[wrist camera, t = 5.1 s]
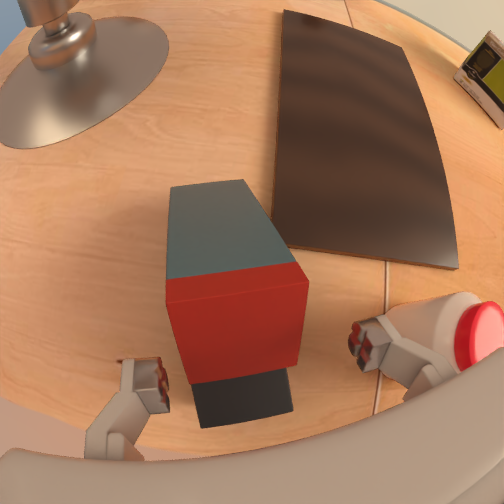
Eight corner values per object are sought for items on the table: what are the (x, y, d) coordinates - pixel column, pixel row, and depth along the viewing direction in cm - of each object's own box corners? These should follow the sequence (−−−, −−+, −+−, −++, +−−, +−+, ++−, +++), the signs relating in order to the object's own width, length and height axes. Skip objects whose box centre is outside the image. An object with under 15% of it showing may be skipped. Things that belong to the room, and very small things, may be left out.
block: (274, 393, 22) (293, 411, 17) (202, 406, 21) (200, 429, 16) (259, 312, 24) (276, 307, 18) (186, 323, 23) (180, 322, 17)
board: (453, 270, 28) (459, 268, 27) (268, 245, 25) (271, 241, 24) (399, 51, 39) (401, 47, 38) (282, 13, 36) (283, 9, 35)
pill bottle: (410, 288, 27) (492, 264, 16) (441, 344, 26) (521, 341, 15) (359, 337, 25) (443, 336, 14) (395, 396, 24) (478, 415, 13)
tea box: (502, 114, 42) (539, 82, 28) (500, 131, 39) (543, 96, 25) (458, 66, 43) (490, 28, 29) (451, 77, 40) (489, 33, 26)
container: (264, 349, 23) (325, 377, 11) (195, 361, 22) (183, 405, 10) (238, 199, 26) (266, 98, 13) (175, 206, 25) (153, 107, 12)
